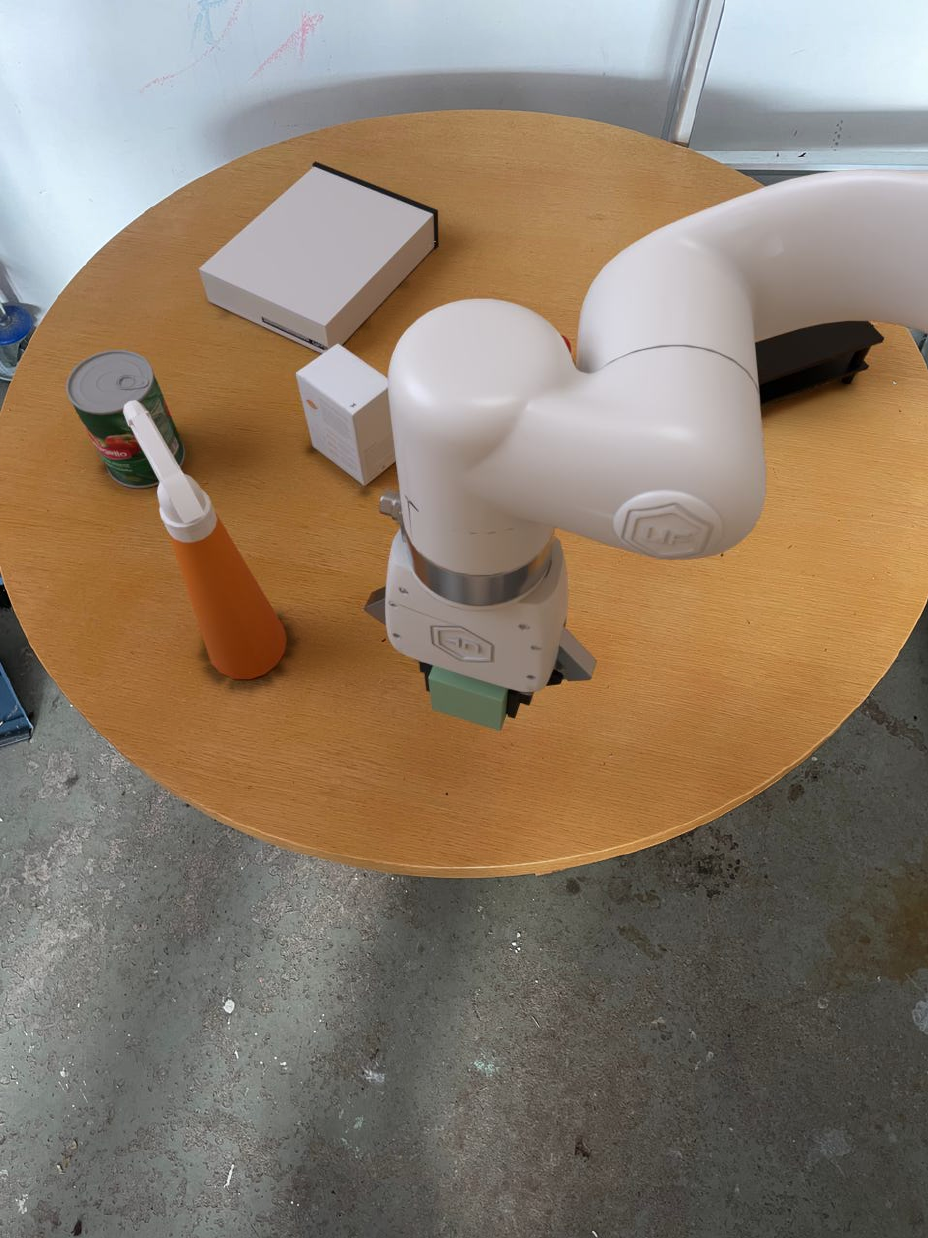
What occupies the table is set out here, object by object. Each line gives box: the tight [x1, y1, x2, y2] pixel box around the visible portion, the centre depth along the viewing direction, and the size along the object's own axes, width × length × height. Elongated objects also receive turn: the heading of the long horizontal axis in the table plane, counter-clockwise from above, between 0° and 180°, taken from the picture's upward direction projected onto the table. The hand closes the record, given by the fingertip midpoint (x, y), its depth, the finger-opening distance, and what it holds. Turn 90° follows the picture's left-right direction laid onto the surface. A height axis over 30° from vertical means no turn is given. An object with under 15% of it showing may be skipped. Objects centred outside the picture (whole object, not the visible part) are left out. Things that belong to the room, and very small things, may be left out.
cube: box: [428, 665, 509, 732], centre depth 58 cm, size 5×5×5 cm
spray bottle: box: [123, 400, 288, 680], centre depth 68 cm, size 7×11×26 cm, turn 33°
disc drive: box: [198, 161, 440, 355], centre depth 101 cm, size 18×22×5 cm
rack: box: [755, 321, 885, 408], centre depth 92 cm, size 16×12×8 cm
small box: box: [295, 344, 396, 487], centre depth 85 cm, size 8×6×10 cm
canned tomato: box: [65, 349, 186, 489], centre depth 84 cm, size 8×8×11 cm
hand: (477, 685), depth 59 cm, fingers closed on cube, 5 cm apart
